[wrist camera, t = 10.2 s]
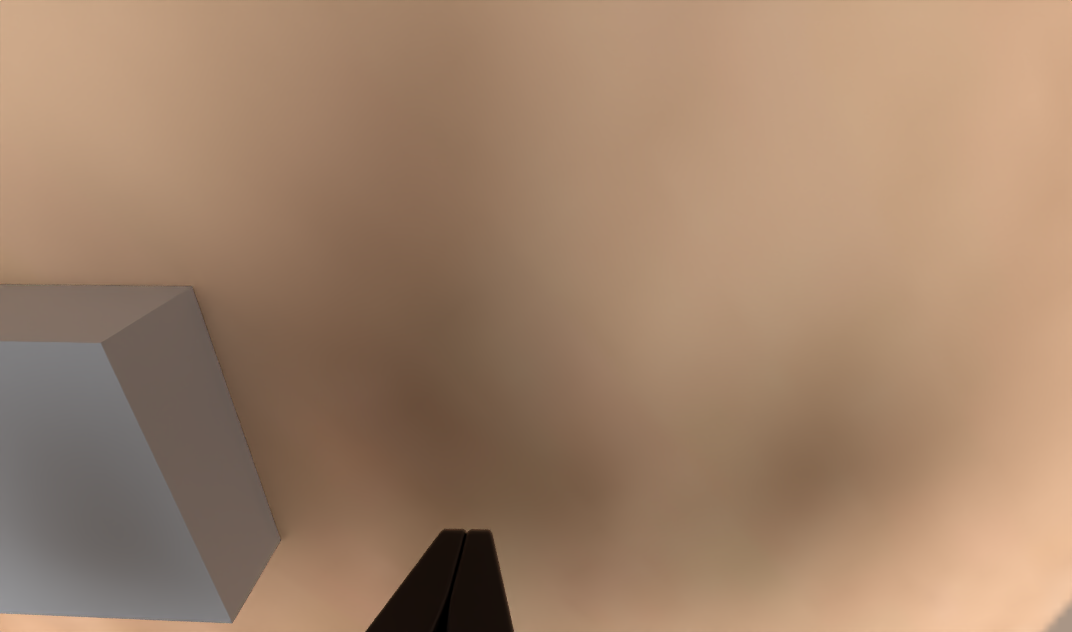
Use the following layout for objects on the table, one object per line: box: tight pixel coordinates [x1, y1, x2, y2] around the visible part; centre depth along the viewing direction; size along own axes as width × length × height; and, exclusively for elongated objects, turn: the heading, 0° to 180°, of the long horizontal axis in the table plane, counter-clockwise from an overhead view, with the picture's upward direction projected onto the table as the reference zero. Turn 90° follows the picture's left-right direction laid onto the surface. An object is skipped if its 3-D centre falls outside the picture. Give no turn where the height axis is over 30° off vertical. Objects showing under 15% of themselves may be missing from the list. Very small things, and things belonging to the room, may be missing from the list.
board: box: [0, 284, 281, 623], centre depth 11 cm, size 7×7×2 cm
